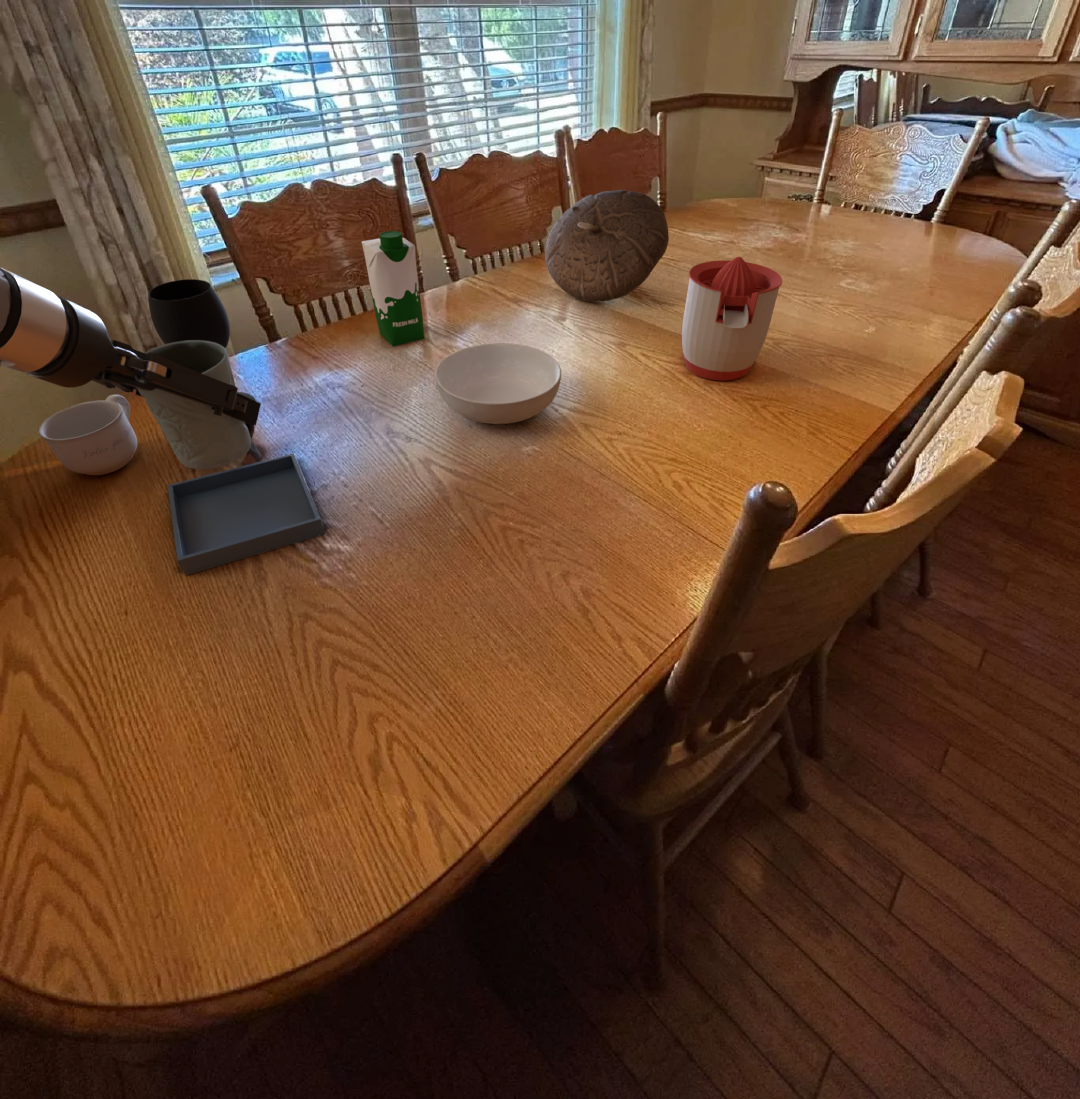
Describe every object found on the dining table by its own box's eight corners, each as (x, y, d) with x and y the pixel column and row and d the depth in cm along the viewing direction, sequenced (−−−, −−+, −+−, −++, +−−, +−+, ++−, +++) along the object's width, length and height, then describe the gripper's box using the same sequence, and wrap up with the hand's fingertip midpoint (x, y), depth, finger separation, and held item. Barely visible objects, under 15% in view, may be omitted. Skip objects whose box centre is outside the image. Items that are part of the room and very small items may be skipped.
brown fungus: (520, 302, 144) (520, 181, 138) (576, 310, 162) (578, 204, 155) (628, 294, 128) (634, 157, 122) (677, 304, 146) (684, 185, 139)
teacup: (105, 491, 90) (77, 443, 85) (47, 476, 93) (17, 429, 87) (175, 440, 100) (155, 395, 95) (122, 428, 103) (98, 383, 97)
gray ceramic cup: (256, 423, 82) (226, 334, 74) (260, 465, 75) (227, 372, 67) (172, 437, 80) (131, 347, 72) (167, 482, 73) (121, 387, 65)
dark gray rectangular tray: (174, 499, 89) (167, 484, 87) (298, 467, 95) (294, 452, 93) (185, 576, 78) (177, 560, 76) (325, 534, 83) (320, 519, 82)
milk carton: (390, 349, 124) (372, 241, 111) (373, 333, 130) (354, 228, 117) (430, 339, 128) (418, 233, 114) (413, 324, 133) (399, 221, 120)
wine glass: (269, 400, 109) (232, 283, 96) (225, 430, 102) (177, 307, 89) (224, 388, 113) (181, 273, 99) (178, 416, 106) (125, 296, 92)
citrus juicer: (676, 389, 113) (695, 274, 99) (672, 347, 125) (689, 240, 112) (765, 395, 111) (797, 279, 98) (753, 351, 124) (779, 243, 110)
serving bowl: (419, 429, 103) (413, 391, 98) (464, 372, 117) (461, 336, 113) (542, 449, 98) (542, 410, 94) (573, 386, 113) (574, 350, 109)
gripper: (-66, 357, 58) (138, 422, 79) (130, 394, 53) (291, 452, 74) (-47, 277, 58) (152, 364, 79) (151, 307, 53) (305, 391, 74)
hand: (219, 407), depth 77 cm, fingers closed on gray ceramic cup, 10 cm apart
